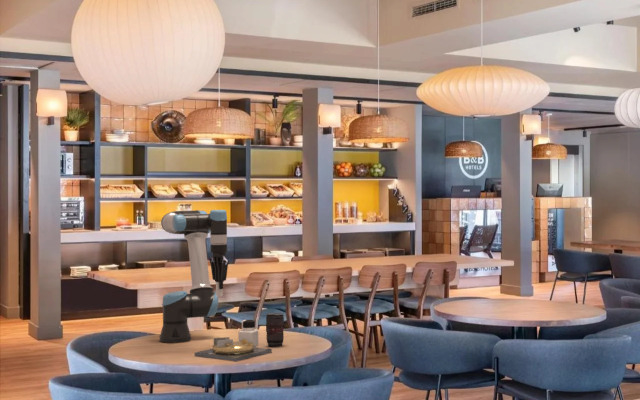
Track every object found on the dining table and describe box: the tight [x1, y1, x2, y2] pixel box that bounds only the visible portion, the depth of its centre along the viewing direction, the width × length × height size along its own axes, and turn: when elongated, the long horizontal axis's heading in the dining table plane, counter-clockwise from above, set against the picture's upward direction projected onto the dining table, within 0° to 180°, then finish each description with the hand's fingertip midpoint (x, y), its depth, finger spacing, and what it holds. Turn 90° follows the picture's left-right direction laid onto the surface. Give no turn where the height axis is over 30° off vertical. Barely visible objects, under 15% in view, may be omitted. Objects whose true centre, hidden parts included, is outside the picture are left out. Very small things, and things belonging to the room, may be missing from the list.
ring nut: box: [212, 336, 254, 354], centre depth 405 cm, size 18×18×5 cm
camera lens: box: [265, 312, 285, 348], centre depth 424 cm, size 8×8×15 cm
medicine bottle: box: [238, 319, 259, 347], centre depth 426 cm, size 7×7×12 cm
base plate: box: [194, 346, 273, 362], centre depth 405 cm, size 24×24×2 cm
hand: (219, 296), depth 416 cm, fingers closed
